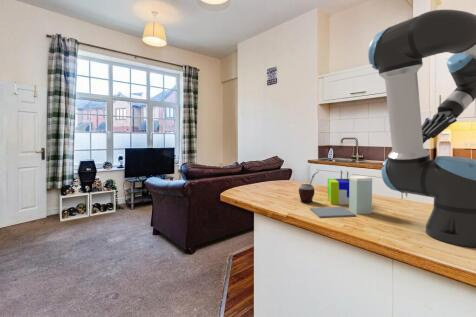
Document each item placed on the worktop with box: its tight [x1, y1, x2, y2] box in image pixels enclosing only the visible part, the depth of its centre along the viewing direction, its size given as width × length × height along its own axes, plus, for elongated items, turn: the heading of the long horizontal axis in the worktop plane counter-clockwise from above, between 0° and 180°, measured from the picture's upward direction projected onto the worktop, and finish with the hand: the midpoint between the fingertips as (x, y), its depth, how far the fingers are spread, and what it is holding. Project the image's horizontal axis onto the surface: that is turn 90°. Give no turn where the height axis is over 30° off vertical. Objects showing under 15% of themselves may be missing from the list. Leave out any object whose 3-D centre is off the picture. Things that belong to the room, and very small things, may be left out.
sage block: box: [348, 175, 373, 215], centre depth 101 cm, size 6×6×14 cm
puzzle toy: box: [327, 178, 349, 206], centre depth 117 cm, size 10×10×10 cm
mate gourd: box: [298, 170, 320, 204], centre depth 118 cm, size 8×8×15 cm
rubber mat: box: [309, 206, 357, 219], centre depth 101 cm, size 14×11×1 cm
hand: (411, 149), depth 100 cm, fingers closed
